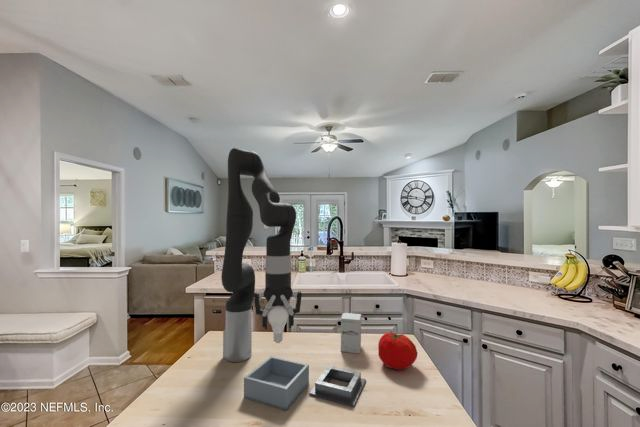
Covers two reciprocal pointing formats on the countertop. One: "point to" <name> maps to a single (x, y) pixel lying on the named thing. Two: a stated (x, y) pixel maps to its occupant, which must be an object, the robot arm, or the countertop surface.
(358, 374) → the dark grey square frame
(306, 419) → the countertop surface
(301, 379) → the bin
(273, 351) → the countertop surface
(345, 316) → the supplement box
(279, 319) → the lightbulb
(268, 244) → the robot arm
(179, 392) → the countertop surface
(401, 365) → the tomato
